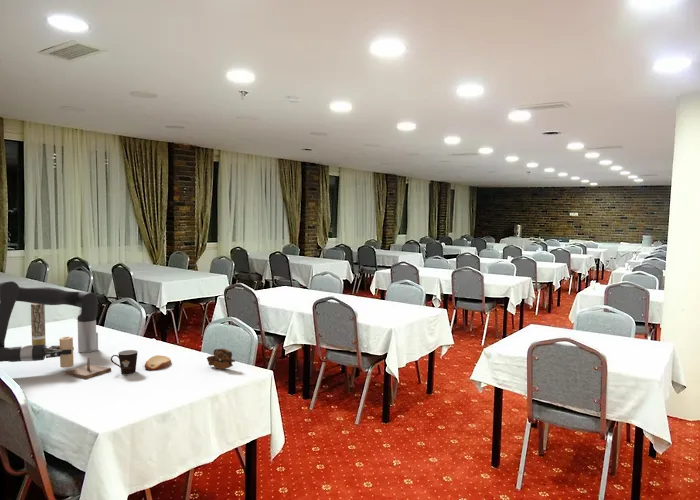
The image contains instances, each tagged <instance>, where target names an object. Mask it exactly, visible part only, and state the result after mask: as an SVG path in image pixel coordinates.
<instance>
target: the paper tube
mask: <svg viewBox="0 0 700 500" xmlns="http://www.w3.org/2000/svg"><path fill="white" fill-rule="evenodd" d="M45 307H46V305H43V304H35V303H30V319H31V322H30V323H31V324H30V325H31V345H42V344H43V345H45V346H46V344H47V343H46V342H47V341H46V314H45V313H46V311H45Z"/></svg>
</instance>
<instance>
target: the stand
mask: <svg viewBox="0 0 700 500" xmlns="http://www.w3.org/2000/svg"><path fill="white" fill-rule="evenodd" d="M111 371H112V367H108V366H104V365H98V364H93V363H91V361H90V357H87V360H86V365H84V366H80V367H76V368H73V369H69V370H65V375H66V376H70V377H74V378H75V377H76V378H79V379H84V380H86V379H89V378H93V377H96V376H99V374H100V375H102V374H105V373H108V372H109V373H110V372H111Z"/></svg>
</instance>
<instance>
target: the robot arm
mask: <svg viewBox="0 0 700 500" xmlns="http://www.w3.org/2000/svg"><path fill="white" fill-rule="evenodd" d="M98 301H99V300H98V296H97V295H96V294H95V293H94V292H89V291H69V290H64V289H61V288H56V287H51V286H49V287H48V286H25V287H24V286H19V284H18V283H17V282H15V281H13V280H7V281H2V282H0V363H2V362H9V363H15V362H16V363H17V362H36V361H44V360H45V359H49V358H50V359H51V358H57V357H58V358H60V356H62V354H63V355H67V354H71V353H72V351H71V349H69V350H63V351H62V350H60V345H51V346H49V347H46V344H45V345H43V344H42V345H32V344H29V345H23V346H22V345H21V346H12V347H11V346H10V347H6V346H5V344H6V343H5V340H6V336H7V331H8V328H9V323H10V318H11V316H12V313H13V309H14V307H15V303H16V302H22V303H30V304H31V303H35V304H43V305H45V306H61V305H65V306H66V305H67V306H73V307H77V308H81V311H80V312H81V313H80V314H79V315H77V319H76V320H77V349H78V350H77V351H78V352H79V353H91V352H95V351H97V350H98V349H99V332H98V331H97V316H98V311H99V309H98V308H99V306H98V305H99V304H98V303H99V302H98ZM74 350H75V349H74V346H73V351H74Z"/></svg>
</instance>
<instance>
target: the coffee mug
mask: <svg viewBox="0 0 700 500" xmlns="http://www.w3.org/2000/svg"><path fill="white" fill-rule="evenodd" d="M138 353H139V351H138V350H135V349H128V350H126V349H125V350H121V351H119V352H118V354H113V355H112V356H111V357H110V361H111V363H113V364H114V365H115V366H117V367H119V368H120V373H121V375H132V374H135V373H136V372H137V362H138ZM113 357H117V358H118V360H119V364H117V363H116V362H115V361H114V360H113Z"/></svg>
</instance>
